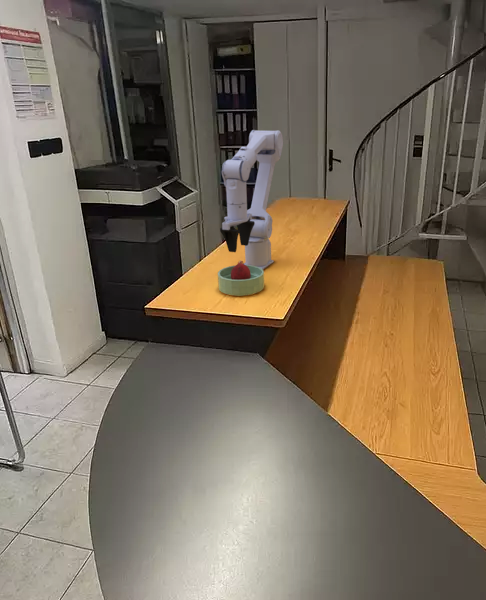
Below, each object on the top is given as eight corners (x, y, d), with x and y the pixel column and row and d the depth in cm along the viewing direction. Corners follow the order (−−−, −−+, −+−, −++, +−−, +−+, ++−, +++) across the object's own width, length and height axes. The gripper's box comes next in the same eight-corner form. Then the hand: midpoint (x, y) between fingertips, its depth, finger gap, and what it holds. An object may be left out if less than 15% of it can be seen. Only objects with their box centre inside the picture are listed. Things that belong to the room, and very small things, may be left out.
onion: (248, 291, 138) (247, 264, 135) (228, 289, 139) (227, 263, 136) (253, 284, 143) (252, 258, 140) (234, 282, 145) (233, 257, 141)
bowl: (225, 279, 148) (224, 264, 147) (267, 281, 147) (267, 265, 145) (213, 295, 136) (212, 279, 134) (259, 298, 135) (258, 281, 133)
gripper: (236, 197, 147) (238, 241, 152) (211, 206, 135) (214, 253, 140) (257, 199, 145) (258, 243, 150) (234, 208, 132) (236, 255, 137)
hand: (238, 248), depth 145 cm, fingers open, 7 cm apart
